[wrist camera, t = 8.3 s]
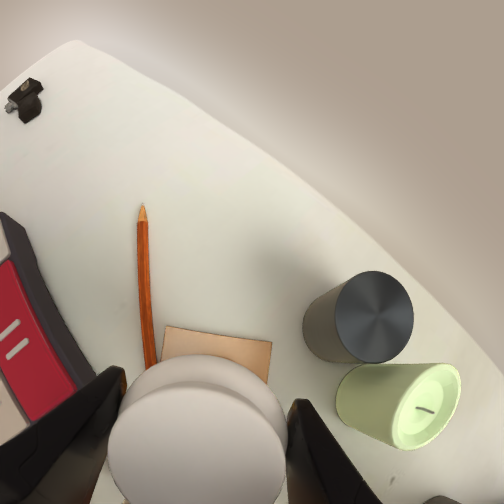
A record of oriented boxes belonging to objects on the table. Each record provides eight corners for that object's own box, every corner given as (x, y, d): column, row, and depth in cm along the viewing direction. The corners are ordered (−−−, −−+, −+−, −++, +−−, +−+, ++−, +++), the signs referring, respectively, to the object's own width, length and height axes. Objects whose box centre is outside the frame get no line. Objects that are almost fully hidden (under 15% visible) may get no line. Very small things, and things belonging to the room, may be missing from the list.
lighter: (53, 84, 23) (18, 116, 21) (58, 96, 24) (26, 127, 23) (27, 73, 23) (-2, 101, 22) (32, 84, 25) (4, 111, 24)
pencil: (160, 448, 16) (158, 451, 15) (138, 205, 21) (136, 200, 21) (171, 448, 16) (170, 451, 15) (148, 203, 22) (146, 199, 21)
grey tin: (363, 363, 19) (411, 363, 14) (298, 359, 19) (330, 362, 13) (368, 296, 21) (414, 276, 15) (305, 288, 21) (337, 264, 15)
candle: (396, 417, 18) (469, 434, 10) (337, 436, 17) (399, 472, 10) (390, 356, 20) (466, 351, 12) (331, 371, 19) (395, 379, 11)
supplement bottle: (139, 382, 14) (39, 409, 5) (224, 335, 15) (234, 306, 6) (193, 464, 13) (168, 573, 3) (278, 417, 14) (356, 487, 5)
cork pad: (255, 453, 16) (256, 455, 16) (152, 437, 16) (150, 439, 16) (271, 342, 19) (272, 342, 19) (166, 326, 19) (165, 325, 18)
